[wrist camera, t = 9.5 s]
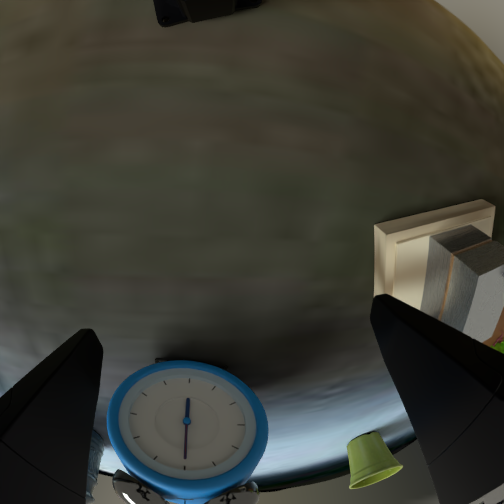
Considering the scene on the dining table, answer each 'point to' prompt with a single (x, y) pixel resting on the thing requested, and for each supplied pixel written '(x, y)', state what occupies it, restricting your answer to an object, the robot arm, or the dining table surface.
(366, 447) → the plant pot
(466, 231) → the box
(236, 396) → the alarm clock
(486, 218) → the beige tray
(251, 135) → the dining table surface
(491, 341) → the plant
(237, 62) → the dining table surface
